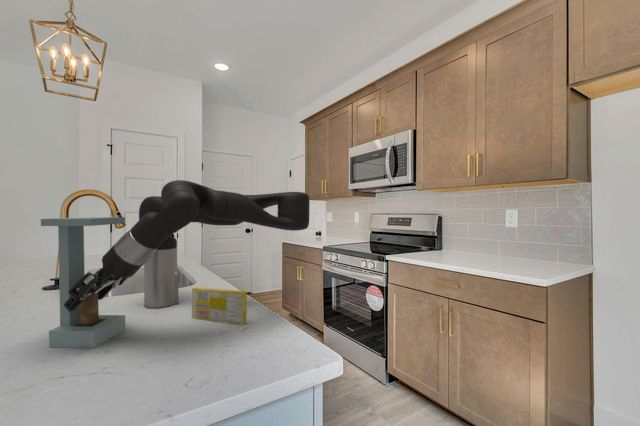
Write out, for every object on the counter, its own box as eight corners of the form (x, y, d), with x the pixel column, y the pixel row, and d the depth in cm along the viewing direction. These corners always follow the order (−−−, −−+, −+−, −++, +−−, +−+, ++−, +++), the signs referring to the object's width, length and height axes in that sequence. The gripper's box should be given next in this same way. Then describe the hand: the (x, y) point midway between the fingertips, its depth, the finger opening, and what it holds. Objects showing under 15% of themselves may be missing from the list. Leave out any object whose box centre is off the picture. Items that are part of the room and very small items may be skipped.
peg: (99, 333, 74) (98, 283, 74) (98, 338, 71) (97, 286, 71) (81, 336, 72) (80, 285, 72) (79, 342, 70) (78, 288, 69)
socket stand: (126, 328, 77) (124, 217, 77) (92, 348, 66) (90, 218, 66) (84, 328, 78) (82, 217, 77) (43, 348, 67) (40, 218, 66)
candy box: (247, 322, 81) (247, 290, 81) (243, 325, 79) (242, 293, 79) (196, 316, 86) (196, 286, 86) (191, 318, 84) (190, 288, 84)
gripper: (121, 270, 64) (68, 325, 65) (160, 258, 78) (116, 304, 79) (96, 244, 64) (43, 299, 65) (139, 237, 78) (95, 283, 79)
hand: (83, 302), depth 72 cm, fingers open, 8 cm apart
